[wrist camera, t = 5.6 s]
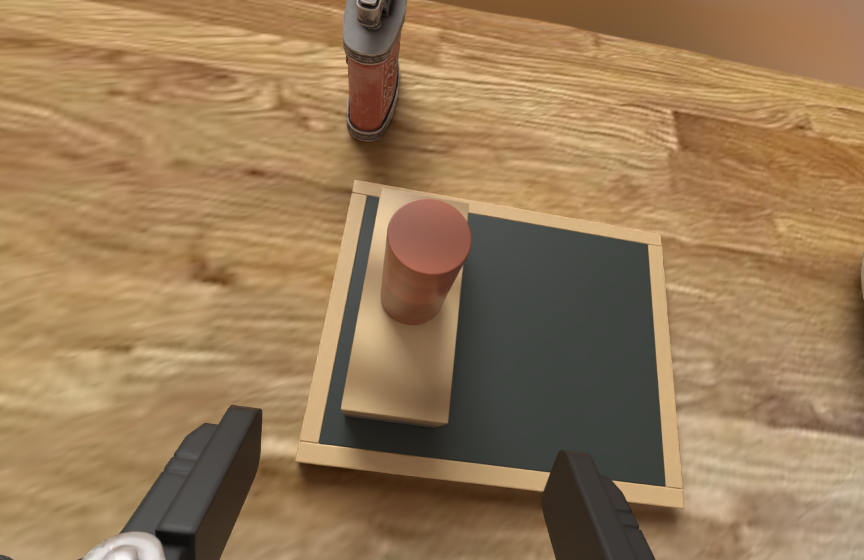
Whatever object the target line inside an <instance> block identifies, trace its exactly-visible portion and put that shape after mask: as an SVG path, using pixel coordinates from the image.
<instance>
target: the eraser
mask: <svg viewBox="0 0 864 560" xmlns="http://www.w3.org/2000/svg"><path fill="white" fill-rule="evenodd" d="M468 210H469V203H464V202H458V201H452V200H447V199H441V198H435V197H430V196H424V195H418V194H413V193H407V192H401V191H396V190H390V189H384V188H382V189H381V193H380V198H379V204H378V209H377V215H376V220H375V226H374V231H373V236H372V242H371V247H370V253H369V258H368V264H367V269H366V274H365V280H364V285H363V291H362V296H361V302H360V307H359V312H358V318H357V323H356V329H355V334H354V340H353V345H352V350H351V356H350V361H349V367H348V372H347V378H346V383H345V388H344V394H343V399H342V405H341V410H342V413H343V414H344V416H349V417H356V418H364V419H372V420H379V421H387V422H395V423H402V424H410V425H418V426H425V427H433V428H437V427H439V426H442V425H445V424H447V423H448V418H449V408H450V397H451V387H452V376H453V366H454V356H455V345H456V335H457V325H458V314H459V304H460V293H461V283H462V273H463V264H464V262H465V260H466V258H467V256H468V254H469V252H470V249H471V244H472V236H471V231H470V227H469V225H468V223H467V221H468Z"/></svg>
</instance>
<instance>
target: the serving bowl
mask: <svg viewBox="0 0 864 560" xmlns="http://www.w3.org/2000/svg"><path fill="white" fill-rule="evenodd" d="M861 284H862V293H863V298H864V253H863V258H862V266H861Z"/></svg>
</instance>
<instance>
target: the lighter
mask: <svg viewBox="0 0 864 560" xmlns="http://www.w3.org/2000/svg"><path fill="white" fill-rule="evenodd" d="M406 5H407V0H347V3H346V8H345V13H344V28H343V41H344V50H345V53H346V63H347V65H348V78H349V96H348V105H347V125H348V131H349V132H350V134H351V135H352V136H353V137H355V138H356V139H358V140H361V141H368V142H371V141H376V140H378V139H380V138H381V137H382V136H383V135H384V133H385V131H386V129H387V127H388V125H389V123H390V121H391V119H392V115H393V112H394V109H395V106H396V103H397V96H398V88H399V79H400V69H399V48H400V37H401V30H402V27H403V24H404V20H405V12H406Z"/></svg>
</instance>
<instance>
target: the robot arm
mask: <svg viewBox="0 0 864 560" xmlns="http://www.w3.org/2000/svg"><path fill="white" fill-rule="evenodd" d="M261 432H262V410H261V409H259V408H251V407H244V406H236V405H231V406H230V407H229V408H228V410H227V411H226V413H225V415H224V416H223V418H222V420H221V421H220V423H219V424H218V425H217V424H209V423H204V424H202V425H201V426H200V427H198V428H197V429H196V430H194V431H193V432H191V433H190V434H189V435H187V436H186V437H185V439H184V440H183V442H182V443H181V445H180V446H179V447H178V449H177V450H176V452H175V453H174V457H172V458H171V459H170V461H169V462H168V464H167V465H166V467H165V468H164V472H162V473H161V474H160V475H159V477H158V478H157V480H156V481H155V483H154V484H153V486H152V487H151V489H150V490H149V492H148V493H147V495H146V496H145V498H144V499H143V501H142V502H141V504H140V505H139V506H138V508H137V509H136V511H135V512H134V514H133V515H132V517H131V518H130V520H129V521H128V523H127V524H126V526H125V527H124V528H123V530H122V531H121V532H120V533H119V534H118V535H116V536H113V537H111V538H109V539H107V540H105V541H103V542H101V543H100V544H98V545H97V546H96V547H94V548H93V549H92V550H91V551H90V552H88V553H87V554H86V555H85V557H84V558H81V559H78V560H219V559H220V557H221V555H222V552H223V550H224V548H225V546H226V543H227V541H228V539H229V536H230V534H231V532H232V529H233V527H234V525H235V522H236V520H237V518H238V515H239V513H240V511H241V508H242V506H243V504H244V501H245V499H246V497H247V495H248V492H249V490H250V488H251V485H252V483H253V481H254V478H255V475H256V472H257V469H258V465H259V460H260V453H261ZM542 507H543V514H544V518H545V522H546V525H547V529H548V533H549V536H550V540H551V543H552V547H553V550H554V554H555V558H556V560H655V558H654V556H653V554H652V551H651V549H650V547H649V545H648V543H647V541H646V539H645V537H644V535H643V533H642V531H641V530H639V525H638V523H637V521H636V519H635V517H634V515H632V510H631V508H630V506H629V504H628V502H627V500H626V498H625V496H624V494H623V492H622V491H621V490H620V489H619V488H618V487H617V486H616V485H615V483H614V482H613V481H612V480H611V479H610V478H609V477H608V476H605V475H600V473H599V471H598V469H597V467H596V465H595V462H594V460H593V458H592V456H591V455H590V454H589V453H583V452H576V451H568V450H560V451H559V452H558V454H557V456H556V459H555V462H554V464H553V467H552V470H551V472H550V475H549V477H548V480H547V483H546V485H545V488H544V491H543V498H542ZM0 560H13V559H11V558H10V557H7V556H4V555H0Z"/></svg>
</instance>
